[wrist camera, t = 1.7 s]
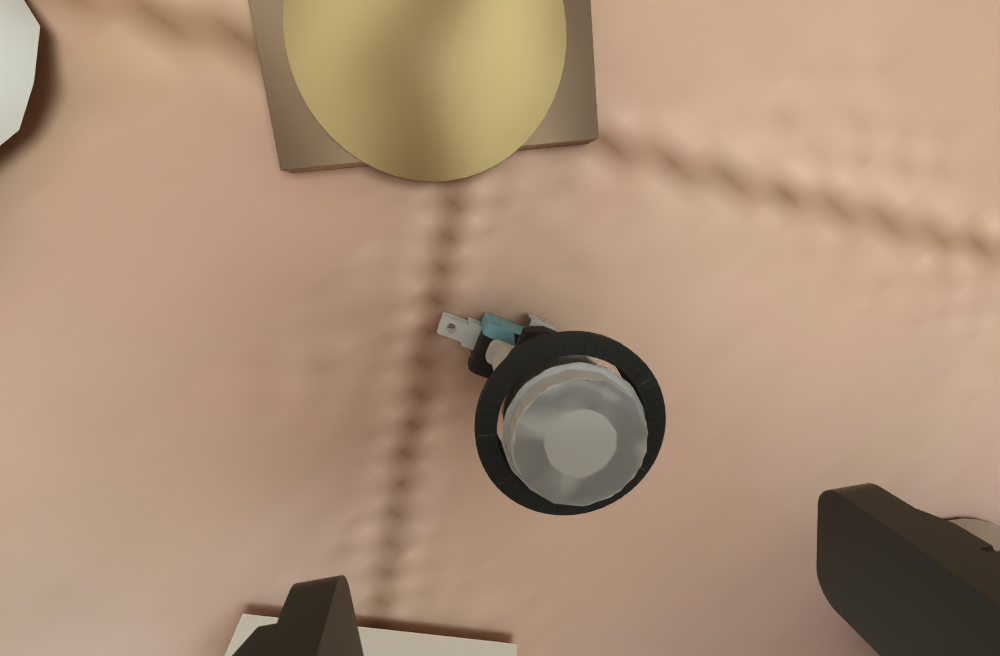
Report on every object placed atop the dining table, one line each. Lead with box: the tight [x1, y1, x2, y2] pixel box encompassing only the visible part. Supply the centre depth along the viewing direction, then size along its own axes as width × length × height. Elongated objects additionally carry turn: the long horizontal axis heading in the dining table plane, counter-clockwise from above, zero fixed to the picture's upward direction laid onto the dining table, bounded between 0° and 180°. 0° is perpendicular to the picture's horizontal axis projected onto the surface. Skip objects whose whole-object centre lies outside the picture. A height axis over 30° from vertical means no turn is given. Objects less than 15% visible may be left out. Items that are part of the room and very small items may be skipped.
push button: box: [437, 312, 666, 515], centre depth 18 cm, size 7×5×10 cm
